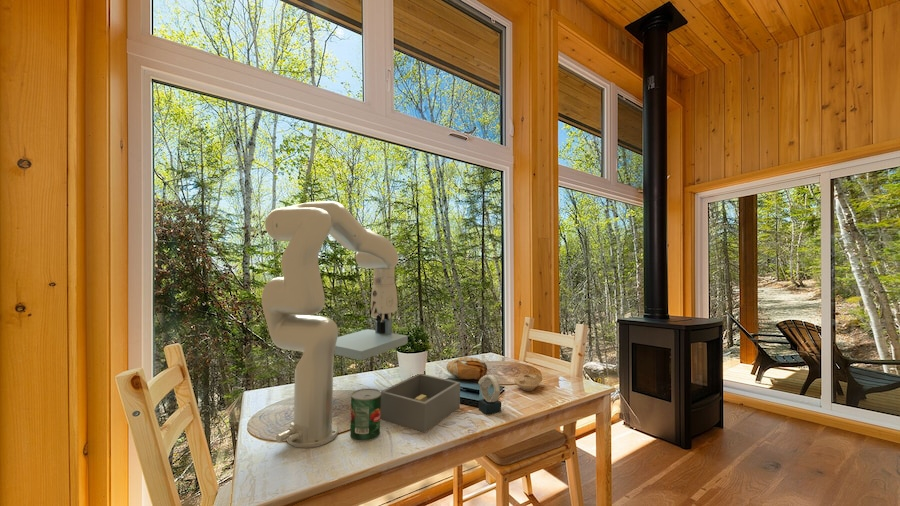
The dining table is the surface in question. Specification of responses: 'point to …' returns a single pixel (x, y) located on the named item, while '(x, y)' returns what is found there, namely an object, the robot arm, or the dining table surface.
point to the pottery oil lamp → (528, 381)
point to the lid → (369, 342)
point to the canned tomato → (365, 415)
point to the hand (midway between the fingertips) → (383, 331)
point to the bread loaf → (467, 368)
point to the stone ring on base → (489, 403)
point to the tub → (420, 402)
